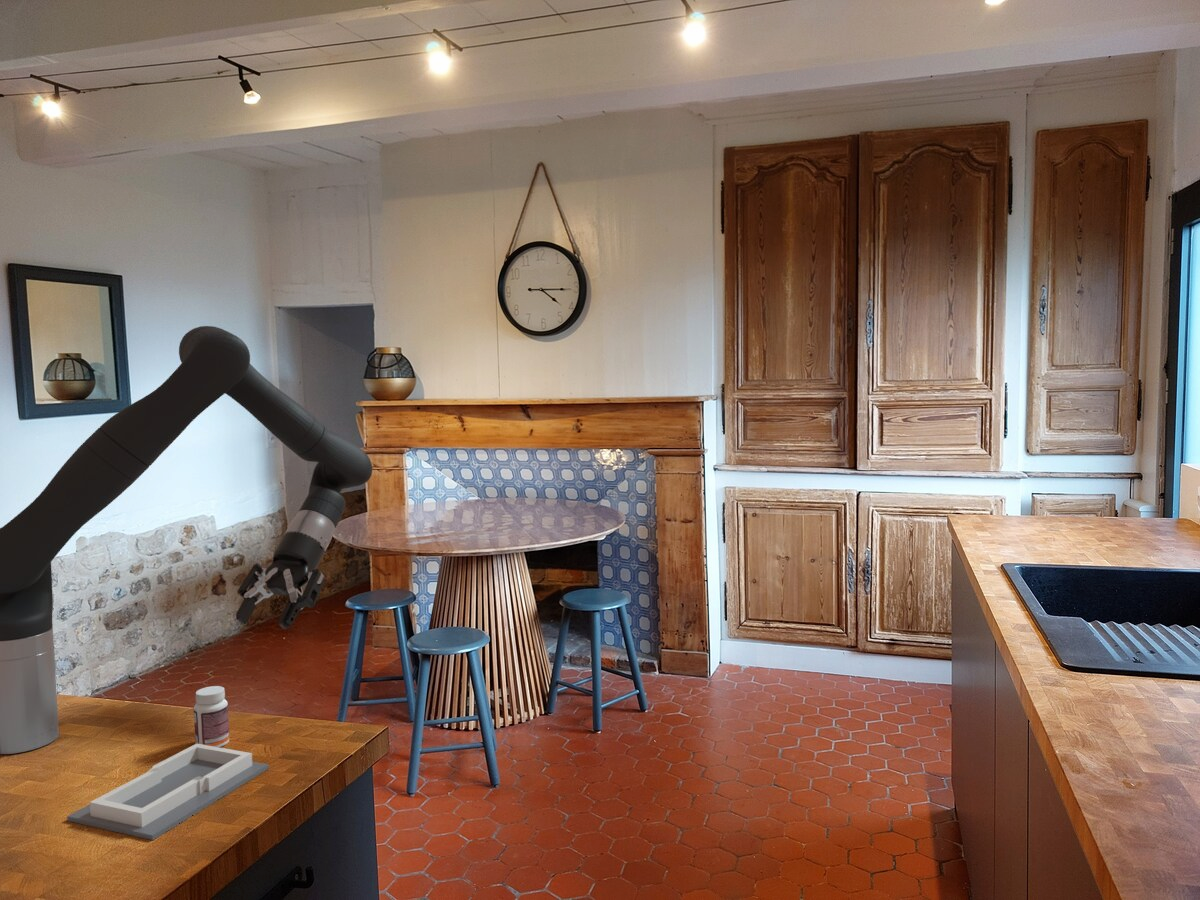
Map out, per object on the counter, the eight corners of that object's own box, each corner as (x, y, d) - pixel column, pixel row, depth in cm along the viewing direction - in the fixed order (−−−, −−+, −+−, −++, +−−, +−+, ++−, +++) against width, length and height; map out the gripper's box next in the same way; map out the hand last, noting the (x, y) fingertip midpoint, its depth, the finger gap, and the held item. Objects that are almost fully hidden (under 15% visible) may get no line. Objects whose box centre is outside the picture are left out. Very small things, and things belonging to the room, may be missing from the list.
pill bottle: (236, 739, 131) (234, 686, 131) (214, 752, 127) (212, 697, 126) (210, 735, 133) (208, 683, 132) (188, 748, 128) (185, 694, 127)
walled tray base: (67, 820, 107) (66, 802, 107) (192, 754, 126) (191, 738, 126) (152, 840, 102) (151, 821, 102) (268, 768, 121) (268, 752, 121)
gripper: (260, 527, 148) (213, 608, 139) (329, 532, 144) (285, 616, 134) (282, 551, 154) (239, 631, 144) (349, 556, 149) (308, 639, 139)
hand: (261, 624), depth 139 cm, fingers open, 8 cm apart
